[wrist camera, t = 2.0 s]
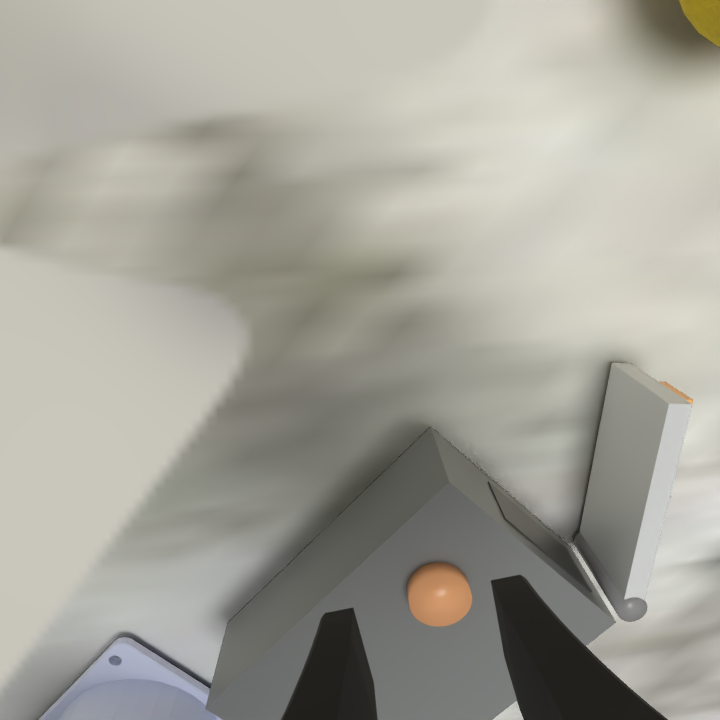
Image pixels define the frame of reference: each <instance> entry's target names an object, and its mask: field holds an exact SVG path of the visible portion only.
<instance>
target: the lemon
mask: <svg viewBox="0 0 720 720" xmlns="http://www.w3.org/2000/svg"><path fill="white" fill-rule="evenodd" d="M679 2H680V5H681V7H682V10H683V13H684V14H685V16H686V17H687V18H688V20H689V21H690V22H691V24H692V25H693V26H694V28H695V29H696V30H697V32H698V33H700V34H701V35H702V36H704V37H705V38H707V39H708V40H709V41H711V42H712V43H713V44H715V45H717V46H719V47H720V0H679Z"/></svg>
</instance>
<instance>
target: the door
mask: <svg viewBox="0 0 720 720" xmlns="http://www.w3.org/2000/svg"><path fill="white" fill-rule="evenodd" d="M692 403H693V399H691V398H690V397H688V396H687V395H685V394H683V393H682V392H680V391H679V390H677V389H676V388H674V387H673V386H671V385H670V384H668V383H667V382H658V381H657V380H655V379H654V378H652V377H651V376H649V375H648V374H646V373H645V372H643V371H642V370H640V369H639V368H637V367H636V366H634V365H633V364H631V363H612V365H611V370H610V375H609V380H608V386H607V391H606V396H605V401H604V406H603V412H602V417H601V422H600V427H599V433H598V438H597V443H596V448H595V453H594V459H593V464H592V469H591V474H590V480H589V485H588V490H587V495H586V500H585V506H584V511H583V516H582V521H581V527H580V532H579V533H578V534H577V535H576V536H575V539H574V544H575V546H576V548H577V550H578V551H579V553H580V554H581V556H582V558H583V559H584V561H585V563H586V564H587V566H588V567H589V569H590V571H591V572H592V574H593V576H594V577H595V579H596V580H597V582H598V584H599V585H600V587H601V588H602V590H603V592H604V593H605V595H606V597H607V598H608V600H609V601H610V603H611V605H612V606H613V608H614V610H615V611H616V613H617V614H618V616H619V617H620V618H621V619H622V620H624V621H628V622H632V621H636V620H638V619H640V618H642V617H643V616H644V615H645V613H646V611H647V604H646V602H645V601H644V600H645V597H646V593H647V589H648V585H649V581H650V577H651V573H652V569H653V565H654V560H655V556H656V552H657V548H658V544H659V540H660V536H661V532H662V528H663V523H664V519H665V515H666V511H667V507H668V503H669V499H670V495H671V491H672V486H673V482H674V478H675V474H676V470H677V466H678V462H679V458H680V454H681V449H682V445H683V441H684V437H685V433H686V429H687V425H688V421H689V417H690V413H691V408H692Z"/></svg>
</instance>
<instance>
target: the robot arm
mask: <svg viewBox="0 0 720 720" xmlns="http://www.w3.org/2000/svg"><path fill="white" fill-rule="evenodd" d="M491 585H492V591H493V596H494V602H495V607H496V613H497V619H498V624H499V630H500V635H501V641H502V647H503V652H504V658H505V661H506V664H507V668H508V671H509V675H510V678H511V681H512V685H513V688H514V691H515V695H516V698H517V701H518V705H519V708H520V711H521V713H522V716H523V718H524V720H668V719H666V718H665V717H664V716H663V715H661V714H660V713H659V712H658V711H656V710H655V709H654V708H653V707H652V706H650V705H649V704H648V703H647V702H646V701H644V700H643V699H642V698H641V697H640V696H638V695H637V694H636V693H635V692H634V691H633V690H632V689H630V688H629V687H628V686H627V685H626V684H625V683H624V682H623V681H622V680H620V679H619V678H618V677H617V676H616V675H615V674H614V673H613V672H612V671H611V670H609V669H608V668H607V667H606V666H605V665H604V664H603V663H602V662H601V661H600V660H599V659H598V658H597V657H596V656H595V655H594V654H593V653H592V652H591V651H590V650H589V649H588V648H587V647H586V646H585V645H584V644H583V643H582V642H581V641H580V640H579V639H578V638H577V637H576V636H575V635H574V634H573V633H572V632H571V631H570V630H569V629H568V628H567V627H566V626H565V624H564V623H563V622H562V621H561V620H560V619H559V618H558V617H557V616H556V614H555V613H554V612H553V611H552V610H551V609H550V608H549V607H548V605H547V604H546V603H545V602H544V601H543V600H542V598H541V597H540V596H539V595H538V593H537V592H536V591H535V590H534V588H533V587H532V586H531V584H530V583H529V582H528V580H527V579H526V578H525V577H523V576H522V575H515V576H510V577H505V578H500V579H495V580H491ZM115 656H118V657H120V658H117V657H115ZM209 692H210V688H208V687H207V686H205V685H203V684H202V683H200V682H199V681H197V680H196V679H194V678H192V677H191V676H189V675H188V674H186V673H185V672H183V671H181V670H180V669H178V668H177V667H175V666H174V665H172V664H170V663H169V662H167V661H166V660H164V659H163V658H161V657H160V656H158V655H156V654H155V653H153V652H152V651H150V650H149V649H147V648H145V647H144V646H142V645H141V644H139V643H138V642H136V641H134V640H133V639H131V638H128V637H122V638H118V639H117V640H115V641H114V642H113V643H112V644H111V646H110V647H109V648H108V649H107V650H106V651H105V652H104V653H103V654H102V655H101V656H100V657H99V658H98V659H97V660H96V661H95V662H94V663H93V664H92V665H91V666H90V667H89V668H88V669H87V670H86V671H85V672H84V673H83V674H82V675H81V676H80V677H79V678H78V679H77V680H76V681H75V682H74V683H73V684H72V685H71V687H70V688H69V689H68V690H67V691H66V692H65V693H64V694H63V695H62V696H61V697H60V698H59V699H58V700H57V701H56V702H55V703H54V704H53V705H52V706H51V707H50V708H49V709H48V710H47V711H46V712H45V713H44V714H43V715H42V716H41V717H40V718H39V719H38V720H222V719H221V718H219V717H217V716H216V715H214V714H213V713H211V712H209V711H208V710H206V709H205V707H206V703H207V700H208V696H209ZM281 720H378V719H377V708H376V699H375V689H374V681H373V677H372V674H371V670H370V666H369V663H368V659H367V656H366V652H365V648H364V645H363V641H362V637H361V634H360V630H359V626H358V623H357V619H356V616H355V612H354V608H348V609H343V610H338V611H333V612H328V613H325V614H324V615H323V616H322V618H321V619H320V623H319V626H318V629H317V632H316V635H315V638H314V641H313V644H312V647H311V649H310V652H309V655H308V657H307V660H306V662H305V665H304V668H303V670H302V673H301V675H300V677H299V680H298V682H297V684H296V687H295V689H294V692H293V694H292V696H291V699H290V701H289V703H288V705H287V708H286V710H285V712H284V714H283V716H282V718H281Z"/></svg>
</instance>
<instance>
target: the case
mask: <svg viewBox="0 0 720 720" xmlns="http://www.w3.org/2000/svg"><path fill="white" fill-rule="evenodd" d="M515 575H522V576H523V577H525V578H526V579H527V580H528V582H529V583H530V584H531V586H532V587H533V588H534V590H535V591H536V592H537V593H538V595H539V596H540V597H541V598H542V600H543V601H544V602H545V603H546V604H547V605H548V607H549V608H550V609H551V610H552V611H553V612H554V613H555V614H556V616H557V617H558V618H559V619H560V620H561V621H562V622H563V623H564V624H565V626H566V627H567V628H568V629H569V630H570V631H571V632H572V633H573V634H574V635H575V636H576V637H577V638H578V639H579V640H580V641H581V642H582V643H583V644H584V645H585V646H586V645H588V644H589V643H590V642H592V641H593V640H594V639H595V638H597V637H598V636H599V635H600V634H602V633H603V632H604V631H606V630H607V629H608V628H609V627H611V626H612V625H613V624H614V623H616V621H615V620H614V618H613V616H612V615H611V613H610V611H609V610H608V608H607V606H606V605H605V603H604V601H603V600H602V598H601V596H600V595H599V593H598V591H597V590H596V588H595V586H594V585H593V583H592V582H591V580H590V578H589V577H588V575H587V573H586V572H585V570H584V568H583V567H582V565H581V563H580V562H579V560H578V558H577V557H576V555H575V553H574V552H573V550H572V548H571V547H570V546H568V545H567V544H566V543H565V542H564V541H563V540H561V539H560V538H559V537H558V536H557V535H556V534H554V533H553V532H552V531H551V530H550V529H549V528H548V527H546V526H545V525H544V524H543V523H542V522H541V521H539V520H538V519H537V518H536V517H535V516H534V515H532V514H531V513H530V512H529V511H528V510H527V509H526V508H524V507H523V506H522V505H521V504H520V503H519V502H517V501H516V500H515V499H514V498H513V497H512V496H510V495H509V494H508V493H507V492H506V491H505V490H504V489H502V488H501V487H500V486H499V485H498V484H497V483H495V482H494V481H493V480H492V479H491V478H490V477H488V476H487V475H486V474H485V473H484V472H483V471H482V470H480V469H479V468H478V467H477V466H476V465H475V464H473V463H472V462H471V461H470V460H469V459H468V458H467V457H465V456H464V455H463V454H462V453H461V452H460V451H458V450H457V449H456V448H455V447H454V446H453V445H451V444H450V443H449V442H448V441H447V440H446V439H445V438H443V437H442V436H441V435H440V434H439V433H438V432H436V431H435V430H434V429H433V428H432V427H430V428H429V429H428V430H427V431H426V432H425V433H424V434H422V435H421V436H420V437H419V438H418V439H417V440H416V441H415V442H414V443H413V444H412V445H411V446H410V447H409V448H408V449H407V450H406V451H405V452H404V453H403V454H402V455H401V456H400V457H399V458H398V459H397V460H396V461H395V462H394V463H393V464H391V465H390V466H389V467H388V468H387V469H386V470H385V471H384V472H383V473H382V474H381V475H380V476H379V477H378V478H377V479H376V480H375V481H374V482H373V483H372V484H371V485H370V486H369V487H368V488H367V489H366V490H365V491H364V492H363V493H361V494H360V495H359V496H358V497H357V498H356V499H355V500H354V501H353V502H352V503H351V504H350V505H349V506H348V507H347V508H346V509H345V510H344V511H343V512H342V513H341V514H340V515H339V516H338V517H337V518H336V519H335V520H334V521H333V522H331V523H330V524H329V525H328V526H327V527H326V528H325V529H324V530H323V531H322V532H321V533H320V534H319V535H318V536H317V537H316V538H315V539H314V540H313V541H312V542H311V543H310V544H309V545H308V546H307V547H306V548H305V549H304V550H303V551H301V552H300V553H299V554H298V555H297V556H296V557H295V558H294V559H293V560H292V561H291V562H290V563H289V564H288V565H287V566H286V567H285V568H284V569H283V570H282V571H281V572H280V573H279V574H278V575H277V576H276V577H275V578H274V579H273V580H271V581H270V582H269V583H268V584H267V585H266V586H265V587H264V588H263V589H262V590H261V591H260V592H259V593H258V594H257V595H256V596H255V597H254V598H253V599H252V600H251V601H250V602H249V603H248V604H247V605H246V606H245V607H244V608H243V609H242V610H240V611H239V612H238V613H237V614H236V615H235V616H234V617H233V618H232V619H231V620H230V621H229V622H228V623H227V627H226V631H225V634H224V638H223V642H222V646H221V650H220V654H219V657H218V661H217V665H216V669H215V673H214V677H213V680H212V684H211V688H210V692H209V696H208V700H207V703H206V707H205V709H206V710H208V711H209V712H211V713H213V714H214V715H216V716H217V717H219V718H221V719H222V720H281V718H282V716H283V714H284V712H285V710H286V708H287V705H288V703H289V701H290V699H291V696H292V694H293V692H294V689H295V687H296V684H297V682H298V680H299V677H300V675H301V673H302V670H303V668H304V665H305V662H306V660H307V657H308V655H309V652H310V649H311V647H312V644H313V641H314V638H315V635H316V632H317V629H318V626H319V623H320V619H321V618H322V616H323V615H324V614H325V613H328V612H333V611H338V610H343V609H348V608H354V612H355V616H356V619H357V623H358V626H359V630H360V634H361V637H362V641H363V645H364V648H365V652H366V656H367V659H368V663H369V666H370V670H371V674H372V677H373V681H374V689H375V699H376V708H377V719H378V720H492V719H494V718H495V717H496V716H497V715H499V714H500V713H501V712H503V711H504V710H505V709H506V708H508V707H509V706H510V705H511V704H513V703H514V702H515V701H517V698H516V695H515V691H514V688H513V685H512V681H511V678H510V675H509V671H508V668H507V664H506V661H505V658H504V652H503V647H502V641H501V635H500V630H499V624H498V619H497V613H496V607H495V602H494V596H493V591H492V585H491V580H495V579H500V578H505V577H510V576H515Z"/></svg>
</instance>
